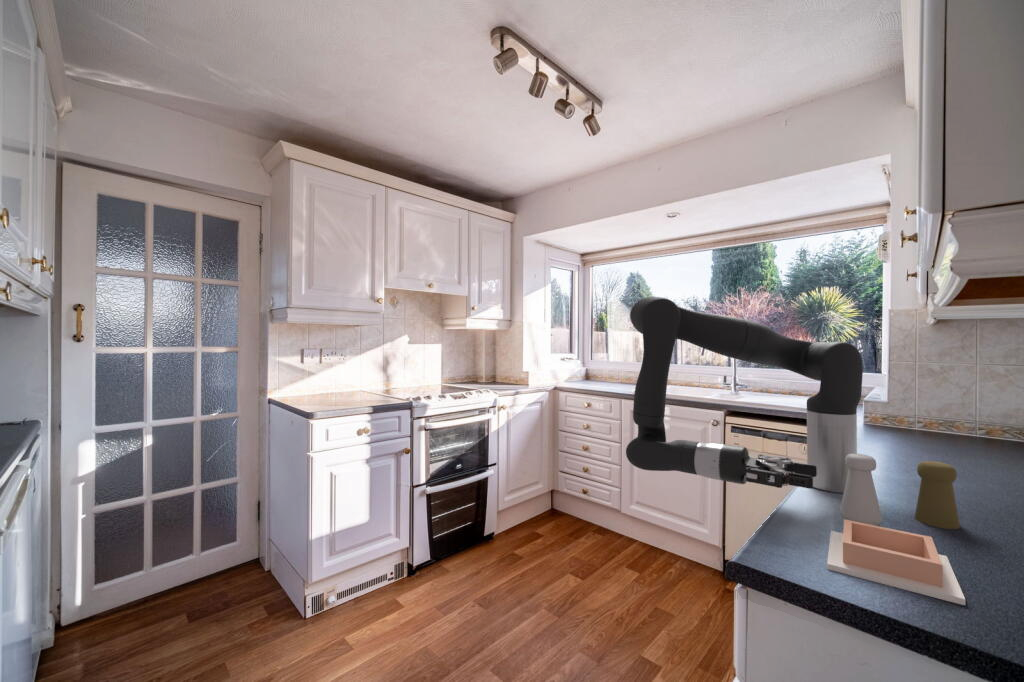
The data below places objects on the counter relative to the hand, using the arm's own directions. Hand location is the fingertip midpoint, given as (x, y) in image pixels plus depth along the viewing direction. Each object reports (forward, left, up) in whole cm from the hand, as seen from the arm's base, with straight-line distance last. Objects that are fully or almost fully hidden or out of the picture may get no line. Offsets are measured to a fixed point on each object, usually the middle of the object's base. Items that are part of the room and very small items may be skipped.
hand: (814, 476), depth 81 cm
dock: (+14, +10, -8) cm, 19 cm away
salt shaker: (0, +7, -8) cm, 11 cm away
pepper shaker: (-12, +18, -8) cm, 23 cm away
